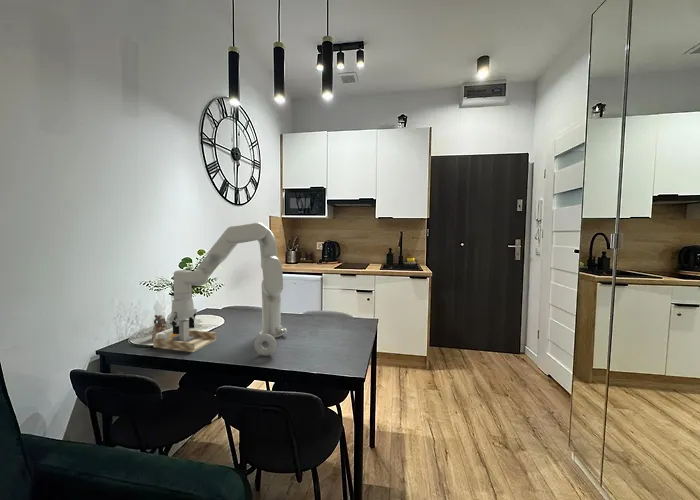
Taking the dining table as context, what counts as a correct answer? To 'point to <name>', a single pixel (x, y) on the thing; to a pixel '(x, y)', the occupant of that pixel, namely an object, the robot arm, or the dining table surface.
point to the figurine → (159, 325)
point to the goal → (165, 334)
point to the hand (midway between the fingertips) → (183, 330)
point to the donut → (261, 349)
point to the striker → (183, 332)
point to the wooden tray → (197, 343)
